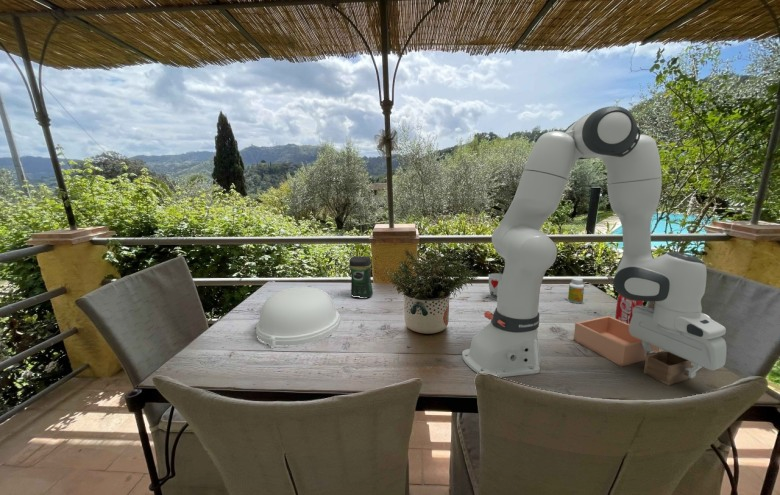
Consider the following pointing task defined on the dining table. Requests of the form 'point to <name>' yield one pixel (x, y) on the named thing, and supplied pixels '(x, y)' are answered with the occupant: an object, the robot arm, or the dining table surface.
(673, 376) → the small crate
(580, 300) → the supplement bottle
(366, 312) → the dining table surface
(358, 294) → the coffee jar
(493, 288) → the cup
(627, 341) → the big crate
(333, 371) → the dining table surface
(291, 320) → the dome cover
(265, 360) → the dining table surface
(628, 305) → the soda can
